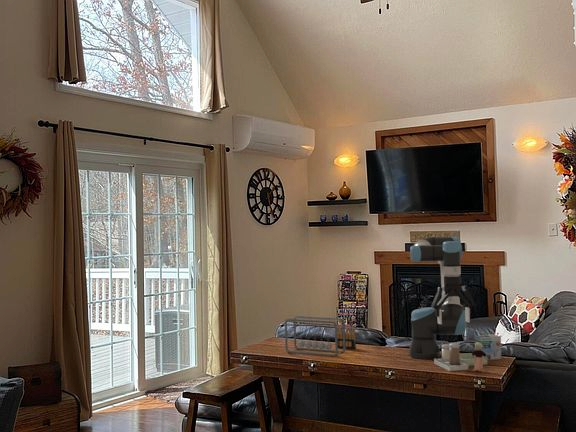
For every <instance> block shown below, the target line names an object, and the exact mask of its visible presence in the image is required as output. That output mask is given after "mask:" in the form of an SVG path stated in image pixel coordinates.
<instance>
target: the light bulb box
mask: <svg viewBox="0 0 576 432" xmlns="http://www.w3.org/2000/svg"><path fill="white" fill-rule="evenodd" d="M501 340H502V336H500V335H497V334H494V333H493V334H480V335H479V334H478V335H474V344H475V343H476V342H480V343H481V344H482V346H483V347H482V348H481V351H483V352H484V353H485V354H486V355H487V358H488V360H487V361H490V360H501V359H502V341H501ZM475 350H476V348H475V347H474V351H475ZM483 357H484V356H483Z"/></svg>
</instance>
